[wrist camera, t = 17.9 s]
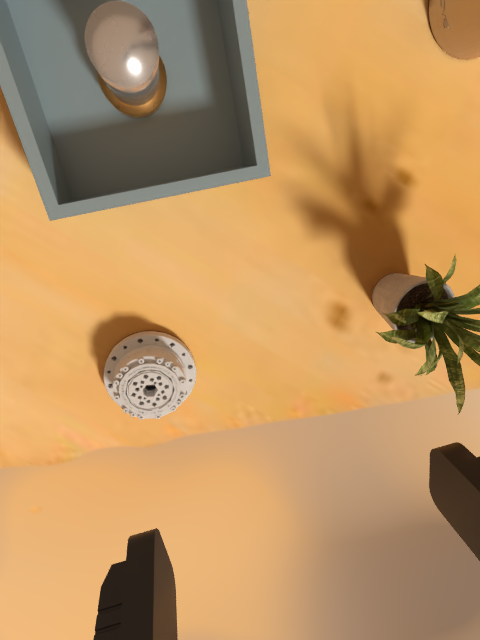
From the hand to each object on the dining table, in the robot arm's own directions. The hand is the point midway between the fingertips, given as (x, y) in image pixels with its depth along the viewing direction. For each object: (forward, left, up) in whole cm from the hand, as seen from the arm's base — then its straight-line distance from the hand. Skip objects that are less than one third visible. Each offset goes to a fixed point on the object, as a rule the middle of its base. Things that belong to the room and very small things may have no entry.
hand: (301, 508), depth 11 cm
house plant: (-22, +8, -32) cm, 40 cm away
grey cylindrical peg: (+2, -16, -31) cm, 35 cm away
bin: (+2, -16, -32) cm, 36 cm away
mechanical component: (+8, +11, -33) cm, 35 cm away
